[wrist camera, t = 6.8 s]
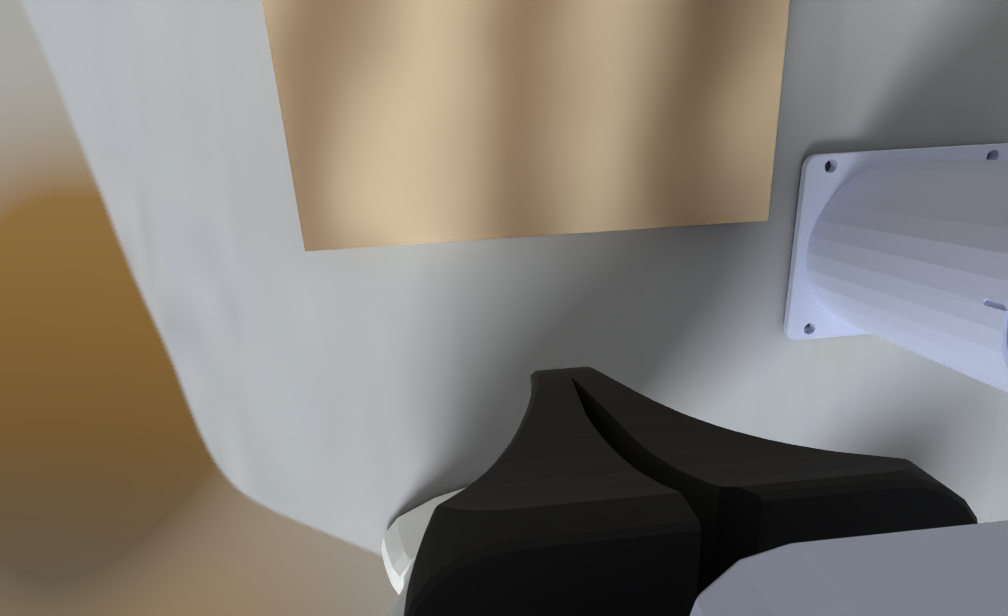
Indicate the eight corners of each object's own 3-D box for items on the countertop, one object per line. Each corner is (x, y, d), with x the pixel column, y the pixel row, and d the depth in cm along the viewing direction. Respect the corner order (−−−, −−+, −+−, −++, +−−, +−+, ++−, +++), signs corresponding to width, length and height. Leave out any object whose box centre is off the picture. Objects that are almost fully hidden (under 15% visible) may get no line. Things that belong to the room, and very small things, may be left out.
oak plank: (771, -59, 18) (797, -77, 17) (747, 216, 21) (767, 220, 20) (269, -43, 17) (251, -61, 16) (316, 244, 20) (305, 251, 19)
